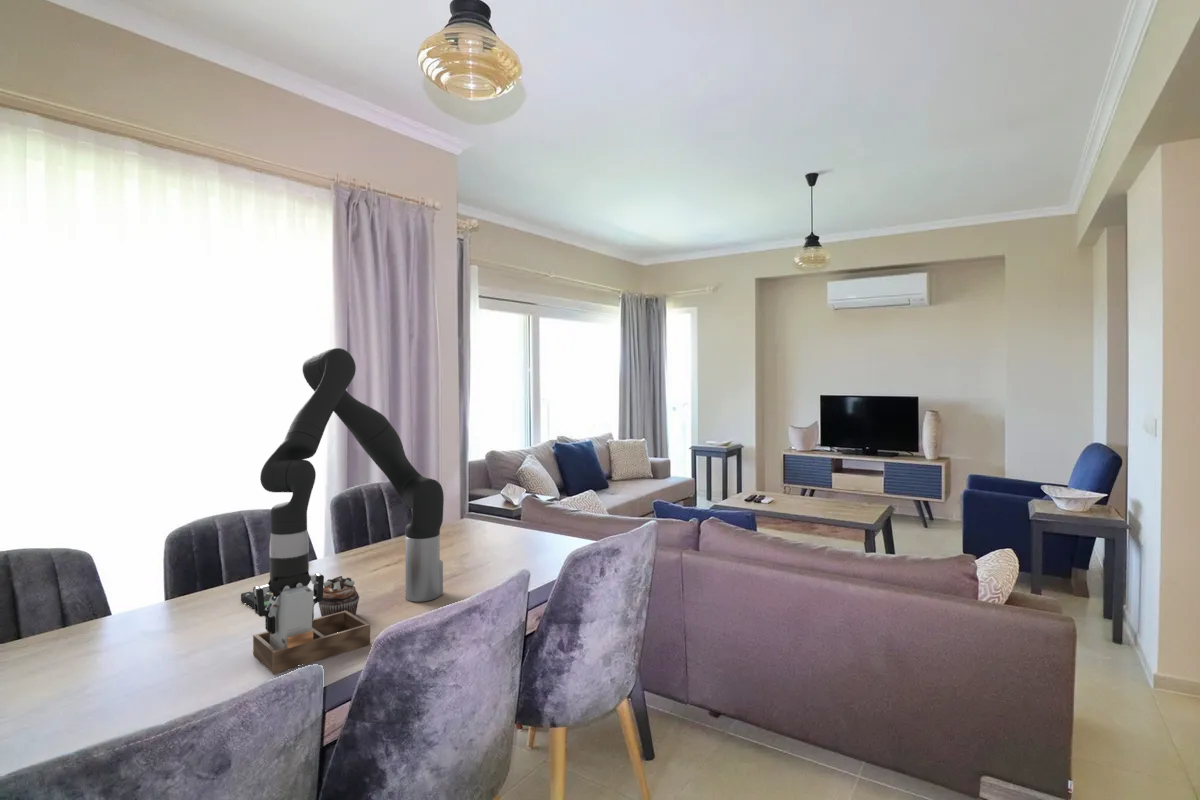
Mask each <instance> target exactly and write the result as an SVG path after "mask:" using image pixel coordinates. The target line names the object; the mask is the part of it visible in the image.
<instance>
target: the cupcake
mask: <svg viewBox="0 0 1200 800" xmlns="http://www.w3.org/2000/svg"><path fill="white" fill-rule="evenodd" d="M359 601H360V595H359V593H358V592H357V590H356V587H355V581H354V580H352V578H351V577H346V578H345V577H343V576H342V575H340V576H336V577H334V578H332V579H329V578H328V579H327V580H326V581H324V586H323V600H322V601H321V602H318V607H319V608H318V609H319V610H320V611H319V612H320V617H323V616H327V615H331V614H334V613H338V612H342V611H348V612H350V613H351V614H353V615H355V616H356V617H357V610H358V609H357V608H358V605H359Z"/></svg>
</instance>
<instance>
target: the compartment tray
mask: <svg viewBox="0 0 1200 800" xmlns="http://www.w3.org/2000/svg"><path fill="white" fill-rule="evenodd" d="M337 632H338V633H337ZM252 639H253V640H252V641H253V642H252V646H253V647H252V650H253V651H252V653H253V655H254V656H255V657H254V656H253V657H254V658H256V659H257V661H259V662H260V663H261V664H262V665H263V666H264V667H265V668H266V669H267V668H268V669H267V670H268V671H270V672H271V674H272V675H276V674H279V673H282V672H286V670H287V671H289V670H288V669H290V670H293V669H297V668H299V667H303V666H305V665H308V664H312V663H314V662H318V661H321V660H325V659H327V658H330V657H335V656H337V655H341V654H343V653H347V652H350V651H353V650H356V649H360V648H363V647H367V646H369V645H371V623H368V622H367V621H366V620H364V619H361V618H360V617H358V616H357V615H356V616H355V615H353V614H351V613H350V612H348V611H342V612H338V613H334V614H331V615H327V616H323V617H321V616H320V617H317V618H314V619H313V620H312V631H309V632H305V633H301V634H298V635H294V636H291V637H287V647H286V648H282V649H279V650H276V649H275V648H273V647H272V646H271V645H270V633H269V632H268V631H267V630H266V631H263V632H260V633H255V634H252ZM302 664H303V665H302ZM298 665H301V666H298Z"/></svg>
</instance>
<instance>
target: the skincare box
mask: <svg viewBox="0 0 1200 800" xmlns="http://www.w3.org/2000/svg"><path fill="white" fill-rule="evenodd" d="M313 597H314V591H313V589H312V588H310V587H309V585H308V586H304V587H303V588H298V589H297V588H290V589H289V591H285V592H282V593H281V605H280V606H279V607H278V608H277V610H276V612H275V614H274V616H275V628H276V632H275V634H270V645H271V646H272V647H273V648H275V649H276V650H279V649H282V648H286V647H287V637H291V636H294V635H298V634H301V633H305V632H309V631H312V615H313ZM275 599H277V597H276V596H275Z"/></svg>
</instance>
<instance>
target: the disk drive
mask: <svg viewBox="0 0 1200 800" xmlns="http://www.w3.org/2000/svg"><path fill="white" fill-rule="evenodd" d="M272 594H273V593H272V592H271V591H270V590H268V591H267V593H266V596H264V606H265V609H266V607H267V605H268V603H269V600H270V598H271V596H272ZM241 601H242V602H241ZM240 602H241V603H243V602H244V603H246V604H247V605H246V604H245V605H246V606H248V605H249V606H251V607H252V608H251V607H250V608H251V609H253V608H254V609H255V606H254V595H253V591H246V592H242V593H240ZM244 603H243V604H244ZM249 606H248V607H249ZM254 609H253V610H254Z"/></svg>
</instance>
